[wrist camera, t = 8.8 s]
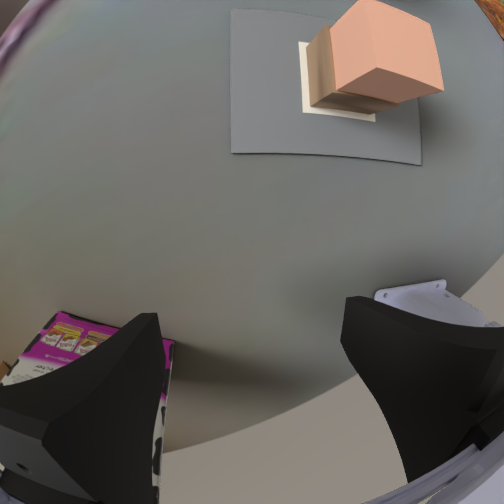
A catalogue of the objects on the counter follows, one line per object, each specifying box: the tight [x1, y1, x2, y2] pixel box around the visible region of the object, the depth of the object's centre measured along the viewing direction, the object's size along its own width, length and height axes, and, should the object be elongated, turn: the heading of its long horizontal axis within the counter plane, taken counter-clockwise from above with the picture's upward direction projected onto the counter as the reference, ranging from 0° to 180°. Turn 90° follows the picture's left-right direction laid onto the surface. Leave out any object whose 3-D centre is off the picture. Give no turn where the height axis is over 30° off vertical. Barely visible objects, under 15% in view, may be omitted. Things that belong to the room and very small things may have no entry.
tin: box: [475, 0, 504, 39], centre depth 11 cm, size 15×3×8 cm, turn 48°
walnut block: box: [306, 25, 400, 115], centre depth 15 cm, size 5×5×4 cm
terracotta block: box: [330, 0, 444, 103], centre depth 11 cm, size 4×4×4 cm
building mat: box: [230, 9, 421, 165], centre depth 17 cm, size 16×12×1 cm
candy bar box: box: [0, 311, 175, 504], centre depth 13 cm, size 11×5×16 cm, turn 76°
